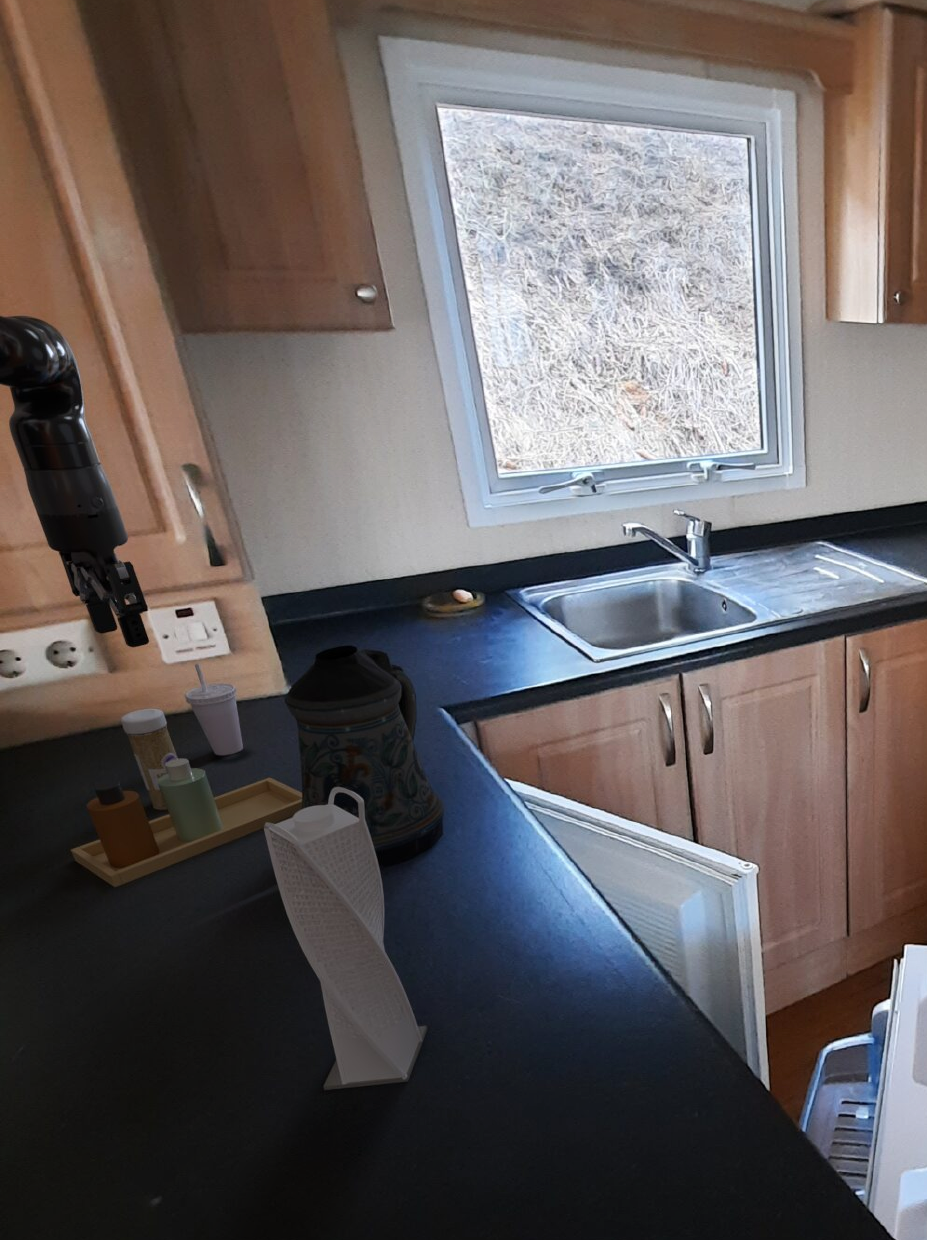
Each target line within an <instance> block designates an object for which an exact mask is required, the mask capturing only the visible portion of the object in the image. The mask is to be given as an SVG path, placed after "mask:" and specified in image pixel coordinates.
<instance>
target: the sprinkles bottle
mask: <svg viewBox="0 0 927 1240" xmlns="http://www.w3.org/2000/svg"><path fill="white" fill-rule="evenodd" d="M120 722H121V725H122V728H123V731H124V733H125V734H126V736H128V740H129V742H130V746H131V749H132V751H133V756H134V758H135V761H136V764H137V767H138V770H139V772H140V775H141V778H142V780H143V783H144V785H145V789H146V790H147V791H148V794H149V797H150V800H151V803H152V807H153V809H154V810H155V809H156V810H161V811H162V810H163V811H164V810H167V807H166V805H165V802H164V799H163V796H162V794H161V791H160V788H159V785H158V780H159V778H161V777H162V776H164V775H166V774H168V772H167V770H166V767H165V764H166V763H167V762H169V761H171V760H174V759H179V758H178V755H177V752H176V749H175V747H174V745H173V742H172V739H171V736H170V733H169V730H168V725H167V724H168V722H167V720H166V717H165V713H164V712H163V711H162V710H161V709H159V708H145V709H144V708H143V709H138V710H134V711H131V712H128V713H126V714H124V715H123V716H122V717H121V718H120Z"/></svg>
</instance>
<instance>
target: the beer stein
mask: <svg viewBox="0 0 927 1240" xmlns="http://www.w3.org/2000/svg"><path fill="white" fill-rule="evenodd" d="M284 703H285V705H286V706H287V708H288V710H289V712H290V714H291V715H292V716H293V717H294V718H295V720H296V726H297V735H298V749H299V758H300V759H299V760H300V775H301V793H302V809H304V808H307V807H311V806H318V805H327V804H328V800H329V796H330V793H331V790H332V789H333V788H335V787H342V788H345V789H348V790H350V791H353V792H355V793H356V794H358V795H359V796H360V797H361V798H362V799H363V800H364V812H365V821H366V824H367V827H368V830H369V833H370V836H371V839H372V843H373V846H374V850H375V853H376V856H377V861H378V865H379V869H382V868H386V867H390V866H393V865H396V864H400V863H404V862H407V861H409V860H411V859H413V858H415V857H416V856H418V855H420V854H422V853H424V852H426V851H428V850H430V849H432V847H434V845H435V844H436V843H437V842H438V840H439V839H440V838H441V837H442V836H443V834H444V815H445V814H444V813H445V807H444V806H445V805H444V802H443V800H442V799H441V798H440V797H439V795H438V794H437V793H436V791H435V790H434V789H433V787H432V785H431V784H430V781H429V779H428V777H427V775H426V772H425V770H424V766H423V764H422V762H421V758H420V756H419V754H418V750H417V748H416V745H415V742H414V740H415V734H416V727H417V726H416V725H417V708H418V707H417V694H416V690H415V688H414V685H413V682H412V681H411V679H410V677H409V676H408V675H407V674H406V673H405V671H404V669H403V667H402V666H399V665H397V664H391V661H390V657H389V655H388V653H387V652H384V651H380V650H376V649H369V648H363V649H360V650H359V649H358V648H357V646H354V645H338V646H335V647H332V648H327V649H324V650H322V651H320V652H318V653H316V654H315V658H314V663H313V664H312V665H311V666H310V667H309V668H308V669H307V670H306V671H305V673H304V674H302V675H301V676H300V677H299V678H298V680H296V682H294V684H292V686H290V688H289V689H288V692H287V693H286V695H285V697H284ZM333 804H334V805H335V806H337V807H339V808H341V809H343V810H345V811H346V812H348V813H350V814H352V815H354V816H356V817H357V818H359V809H358V802H357V801H356V800H355V799H354V798H353V797H352V796H350V795H348V794H346V793H342V792H338V793H336V794H335V796H334V803H333ZM302 809H301V810H302Z"/></svg>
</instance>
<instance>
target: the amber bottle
mask: <svg viewBox="0 0 927 1240" xmlns="http://www.w3.org/2000/svg"><path fill="white" fill-rule="evenodd" d="M93 790H94V791H95V794H96V796H97V797H94V798H93V799H91V800H90V801H89V802H88V803H87V804H86V809H87V812H88V814H89V816H90V819H91V822H92V824H93V826H94V829H95V831H96V834H97V836H98V838H99V839H100V841H101V844H102V846H103V849H104V851H105V853H106V856H107V858H108V861H109V863H110V865H111V866H112V867H115V868H125V867H128V866H130V865H133V864H135V863H138V862H141V861H143V860H146V859H148V858H151V857H153V856H156V855H158V854H159V848H158V846H157V843H156V840H155V838H154V835H153V832H152V830H151V827H150V824H149V819H148V816H147V814H146V811H145V808H144V805H143V803H142V801H141V797H140V795H139V793H138V792H136V791H133V790H123V788H122V786H121V783H120V781H118V780H110V781H103V782H101V783H99V784H97V785H95V787H94V789H93ZM99 839H98V840H99Z"/></svg>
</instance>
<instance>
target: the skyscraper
mask: <svg viewBox="0 0 927 1240" xmlns="http://www.w3.org/2000/svg"><path fill="white" fill-rule="evenodd" d="M338 792H342V793H346V794H348V795H350V796H352V797H353V798H354V799H355V800H356V801H357V802H358V809H359V818H357V817H356V816H354V815H352V814H350V813H348V812H346V811H345V810H343V809H341V808H339V807H337V806H335V805H334V804H333V803H334V796H335V794H336V793H338ZM263 830H264V831H263V832H264V836H265V840H266V844H267V848H268V853H269V856H270V861H271V865H272V869H273V872H274V876H275V879H276V883H277V887H278V890H279V894H280V897H281V900H282V904H283V906H284V909H285V912H286V915H287V918H288V920H289V923H290V925H291V928H292V931H293V933H294V935H295V938H296V940H297V942H298V945H299V946H300V948H301V950H302V952H303V954H304V956H305V958H306V959H307V962H308V964H309V965H310V967H311V969H312V970H313V972H314V973H315V975H316V977H317V978H318V980H319V982H320V988H321V993H322V999H323V1005H324V1010H325V1014H326V1019H327V1024H328V1028H329V1035H330V1037H331V1041H332V1046H333V1051H334V1054H335V1061H334V1063H333V1065H332V1067H331V1069H330V1072H329V1073H328V1076H327V1078H326V1080H325V1082H324V1084H323V1090H324V1091H331V1090H339V1089H349V1088H360V1087H368V1086H369V1087H370V1086H378V1085H388V1084H396V1083H397V1084H399V1083H407V1082H409V1080H410V1078H411V1075H412V1072H413V1069H414V1067H415V1064H416V1061H417V1058H418V1056H419V1053H420V1050H421V1049H422V1045H423V1042H424V1040H425V1037H426V1034H427V1031H428V1026H427V1025H418V1023H417V1020H416V1017H415V1014H414V1012H413V1008H412V1006H411V1003H410V1001H409V999H408V995H407V993H406V990H405V988H404V986H403V984H402V981H401V979H400V977H399V975H398V973H397V971H396V968H395V967H394V965H393V963H392V962H391V960H390V958H389V956H388V954H387V952H386V949H385V944H384V936H385V935H384V934H385V896H384V888H383V887H384V886H383V880H382V875H381V874H382V873H381V870H380V869H381V868H380V869H379V865H378V861H377V856H376V853H375V850H374V846H373V843H372V839H371V836H370V833H369V830H368V827H367V824H366V821H365V812H364V800H363V799H362V798H361V797H360V796H359V795H358V794H356V793H355V792H353V791H350V790H348V789H345V788H342V787H335V788H333V789H332V790H331V793H330V796H329V800H328V804H327V805H318V806H311V807H307V808H304V809H302V810H300V811H298V812H297V813H295V814H294V816H292V817H290V818H287V819H285V820H282V821H280V822H277V823H275V824H272V823H269V822H266V823H265V825H264V828H263Z"/></svg>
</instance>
